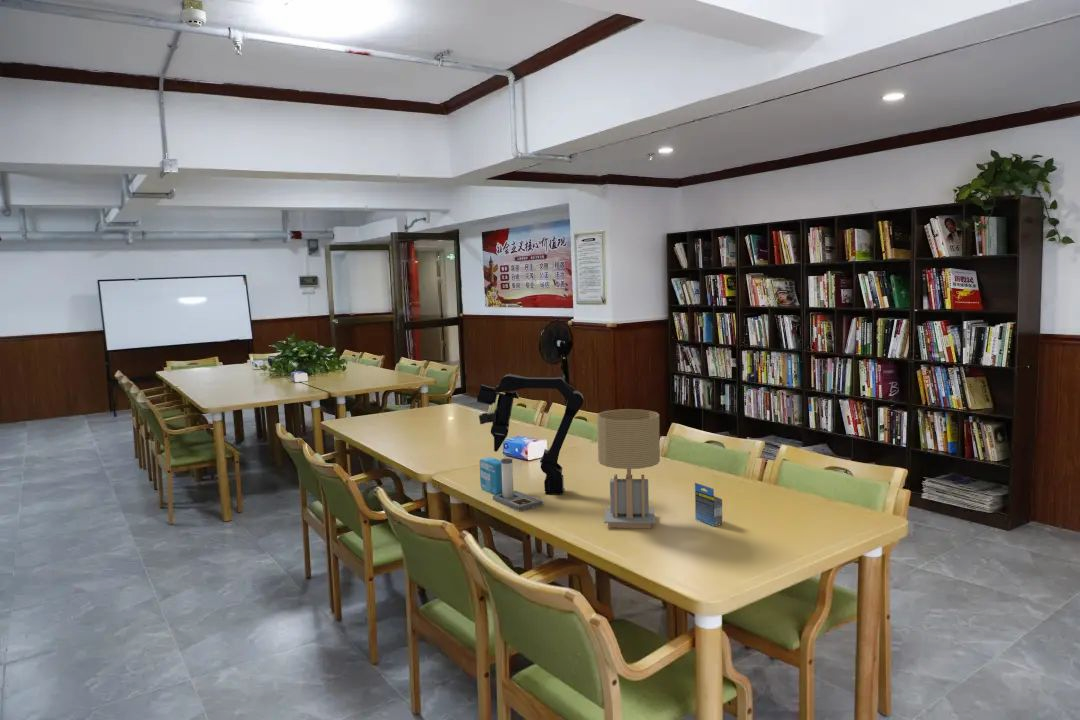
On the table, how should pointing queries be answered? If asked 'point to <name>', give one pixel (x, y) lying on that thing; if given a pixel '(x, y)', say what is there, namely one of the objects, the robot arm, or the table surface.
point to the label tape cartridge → (707, 505)
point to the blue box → (491, 475)
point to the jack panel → (518, 501)
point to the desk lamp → (628, 463)
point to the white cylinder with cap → (507, 478)
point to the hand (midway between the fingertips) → (496, 449)
